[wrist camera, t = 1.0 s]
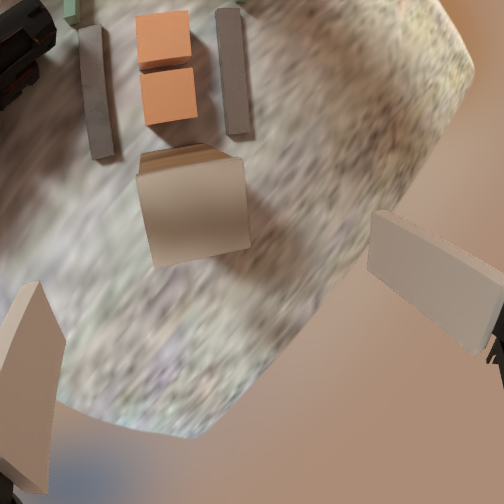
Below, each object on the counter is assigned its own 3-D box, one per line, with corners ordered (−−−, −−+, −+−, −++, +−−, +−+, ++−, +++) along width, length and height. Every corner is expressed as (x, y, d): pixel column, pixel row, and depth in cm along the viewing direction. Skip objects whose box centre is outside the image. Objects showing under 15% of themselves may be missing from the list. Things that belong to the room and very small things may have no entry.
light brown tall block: (139, 152, 26) (135, 178, 15) (203, 141, 27) (243, 159, 16) (149, 208, 28) (154, 268, 17) (209, 196, 29) (251, 247, 19)
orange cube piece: (136, 29, 21) (135, 16, 17) (182, 23, 22) (188, 10, 18) (139, 70, 23) (138, 63, 19) (185, 63, 24) (191, 55, 20)
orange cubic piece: (140, 81, 23) (139, 75, 20) (186, 74, 24) (192, 67, 21) (145, 124, 25) (145, 125, 21) (190, 117, 26) (197, 116, 22)
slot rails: (80, 31, 19) (78, 29, 18) (236, 11, 22) (239, 8, 22) (94, 158, 24) (92, 160, 23) (247, 131, 28) (250, 132, 27)
